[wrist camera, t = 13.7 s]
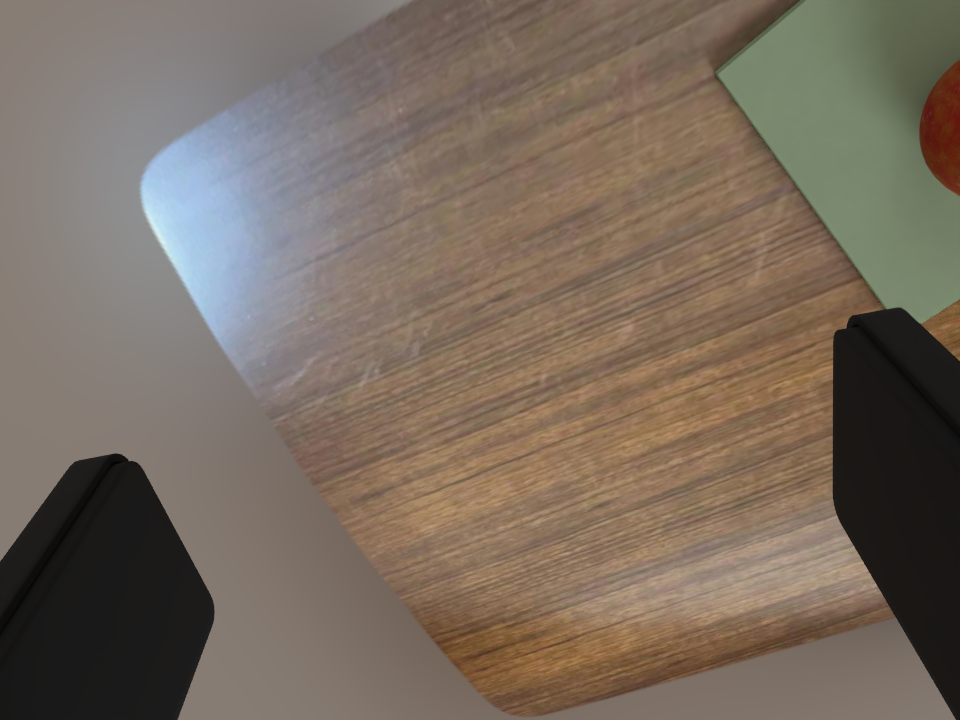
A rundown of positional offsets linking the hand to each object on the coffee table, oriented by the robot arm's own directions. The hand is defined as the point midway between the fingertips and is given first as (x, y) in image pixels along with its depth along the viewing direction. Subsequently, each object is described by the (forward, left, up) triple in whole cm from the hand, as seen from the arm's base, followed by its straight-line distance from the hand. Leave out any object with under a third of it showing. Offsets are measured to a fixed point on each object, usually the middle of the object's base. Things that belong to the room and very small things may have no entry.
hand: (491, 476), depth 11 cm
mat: (+16, +16, -30) cm, 37 cm away
